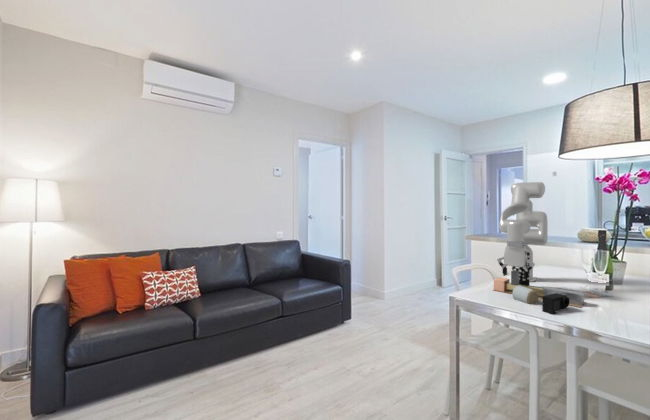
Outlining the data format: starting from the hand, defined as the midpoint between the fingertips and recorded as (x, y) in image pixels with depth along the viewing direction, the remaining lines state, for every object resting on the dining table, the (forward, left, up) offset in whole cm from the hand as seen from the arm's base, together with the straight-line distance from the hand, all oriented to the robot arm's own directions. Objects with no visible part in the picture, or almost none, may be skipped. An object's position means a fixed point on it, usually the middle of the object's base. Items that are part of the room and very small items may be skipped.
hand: (515, 276), depth 160 cm
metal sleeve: (0, +20, -8) cm, 22 cm away
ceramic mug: (+12, +9, -9) cm, 17 cm away
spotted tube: (-15, -2, -9) cm, 17 cm away
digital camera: (+16, +21, -9) cm, 28 cm away
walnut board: (0, +10, -9) cm, 13 cm away
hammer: (0, +5, -7) cm, 8 cm away
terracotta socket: (0, -6, -8) cm, 10 cm away
